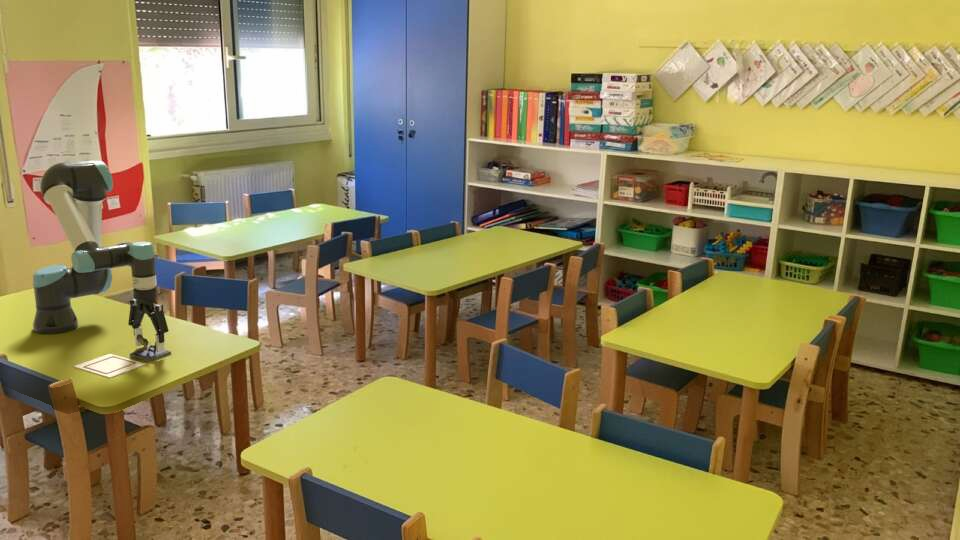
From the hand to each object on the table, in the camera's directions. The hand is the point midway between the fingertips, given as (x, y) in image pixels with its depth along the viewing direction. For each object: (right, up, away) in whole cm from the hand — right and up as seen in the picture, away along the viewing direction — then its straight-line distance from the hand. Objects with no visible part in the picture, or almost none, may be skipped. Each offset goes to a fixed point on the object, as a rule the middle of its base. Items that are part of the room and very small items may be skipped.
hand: (149, 348), depth 276 cm
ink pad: (0, -2, +1) cm, 2 cm away
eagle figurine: (-1, -2, -2) cm, 3 cm away
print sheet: (-9, -5, -10) cm, 15 cm away
